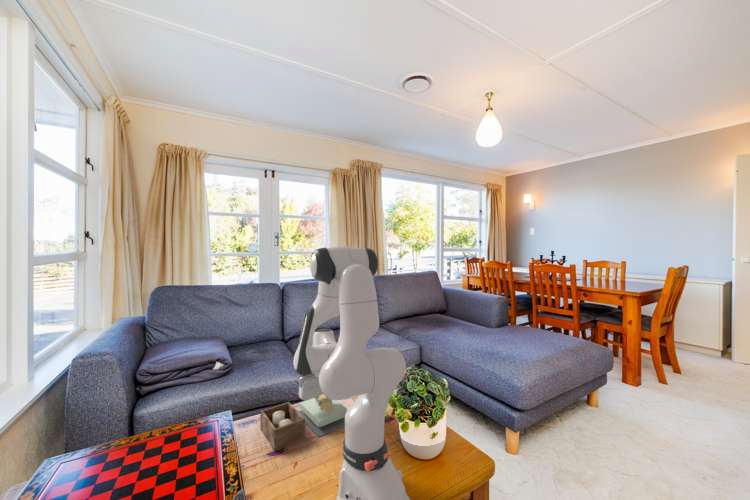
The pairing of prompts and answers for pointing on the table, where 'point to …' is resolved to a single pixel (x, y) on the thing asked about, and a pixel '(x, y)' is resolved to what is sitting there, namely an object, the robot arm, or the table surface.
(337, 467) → the table surface
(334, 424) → the mat
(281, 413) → the box
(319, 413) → the lid
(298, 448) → the table surface
